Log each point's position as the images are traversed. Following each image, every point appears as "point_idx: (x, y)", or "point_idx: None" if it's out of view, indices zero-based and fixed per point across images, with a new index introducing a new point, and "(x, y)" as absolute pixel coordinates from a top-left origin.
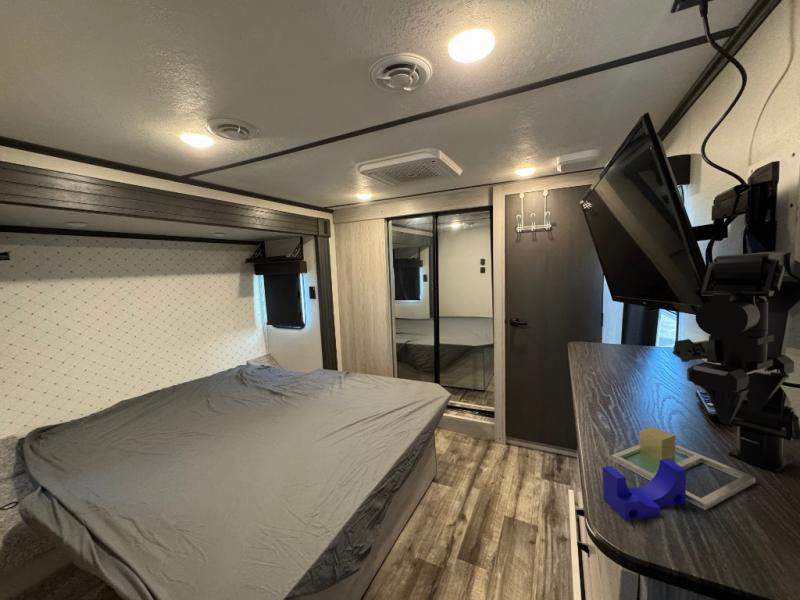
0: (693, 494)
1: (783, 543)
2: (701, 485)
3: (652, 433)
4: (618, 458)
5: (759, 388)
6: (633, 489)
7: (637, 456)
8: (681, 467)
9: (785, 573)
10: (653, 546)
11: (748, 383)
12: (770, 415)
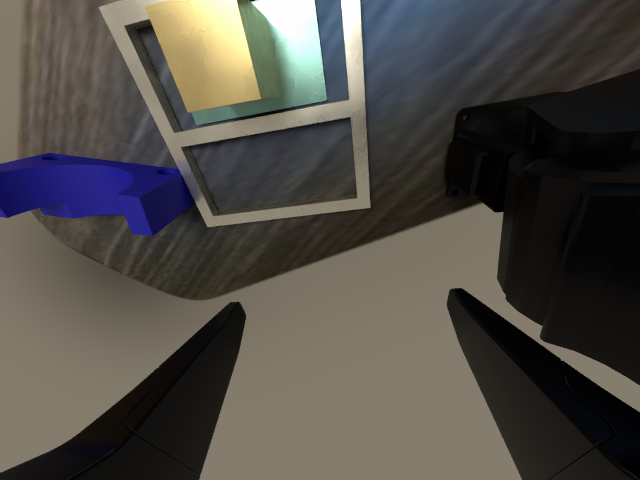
0: (208, 206)
1: (255, 277)
2: (264, 178)
3: (186, 52)
4: (116, 37)
5: (529, 439)
6: (97, 169)
7: None
8: (148, 229)
9: (216, 293)
10: (97, 241)
11: (571, 443)
12: (513, 288)
